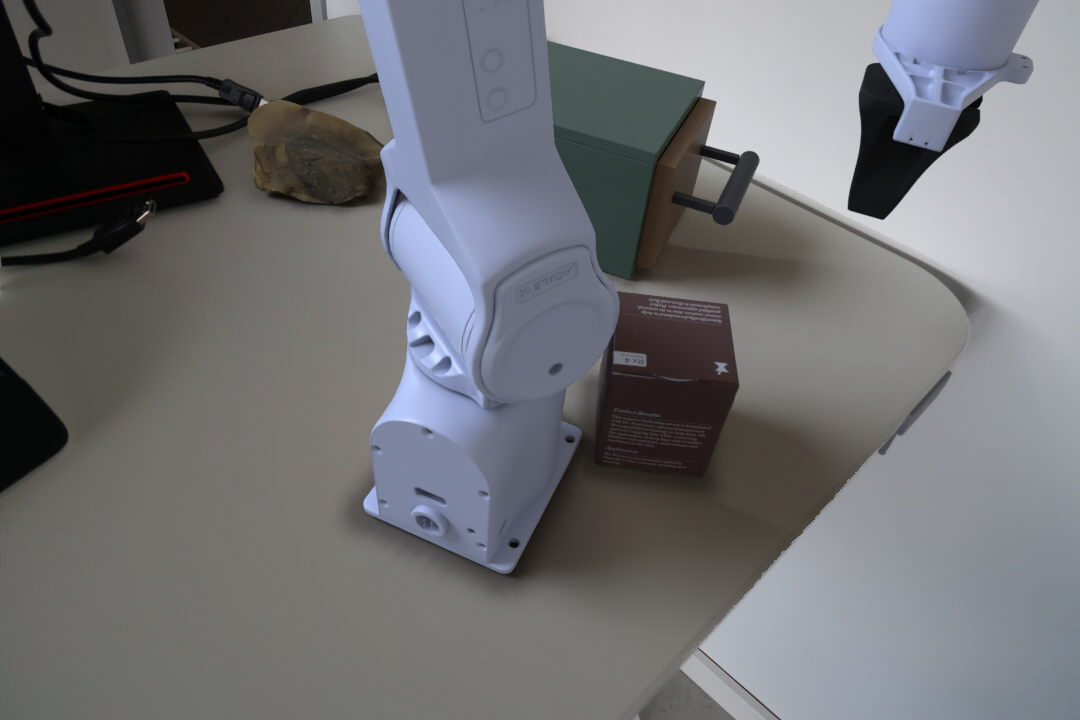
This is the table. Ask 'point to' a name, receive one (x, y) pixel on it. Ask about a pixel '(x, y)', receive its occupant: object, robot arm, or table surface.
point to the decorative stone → (312, 154)
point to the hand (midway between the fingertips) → (866, 209)
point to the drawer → (690, 183)
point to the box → (665, 385)
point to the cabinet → (614, 140)
